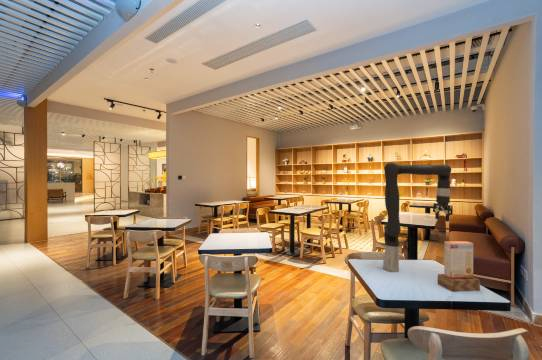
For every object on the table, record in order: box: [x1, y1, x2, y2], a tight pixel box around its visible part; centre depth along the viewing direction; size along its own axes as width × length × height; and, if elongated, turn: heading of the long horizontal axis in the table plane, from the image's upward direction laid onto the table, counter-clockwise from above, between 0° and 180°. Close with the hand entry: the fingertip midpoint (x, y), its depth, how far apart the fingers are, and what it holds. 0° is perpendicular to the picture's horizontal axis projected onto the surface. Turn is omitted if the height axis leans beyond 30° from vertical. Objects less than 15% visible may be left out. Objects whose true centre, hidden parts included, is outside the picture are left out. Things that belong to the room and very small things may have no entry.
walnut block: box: [437, 273, 481, 292], centre depth 162 cm, size 18×11×6 cm, turn 98°
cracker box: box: [443, 240, 474, 278], centre depth 162 cm, size 14×6×21 cm, turn 92°
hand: (442, 220), depth 177 cm, fingers open, 8 cm apart
